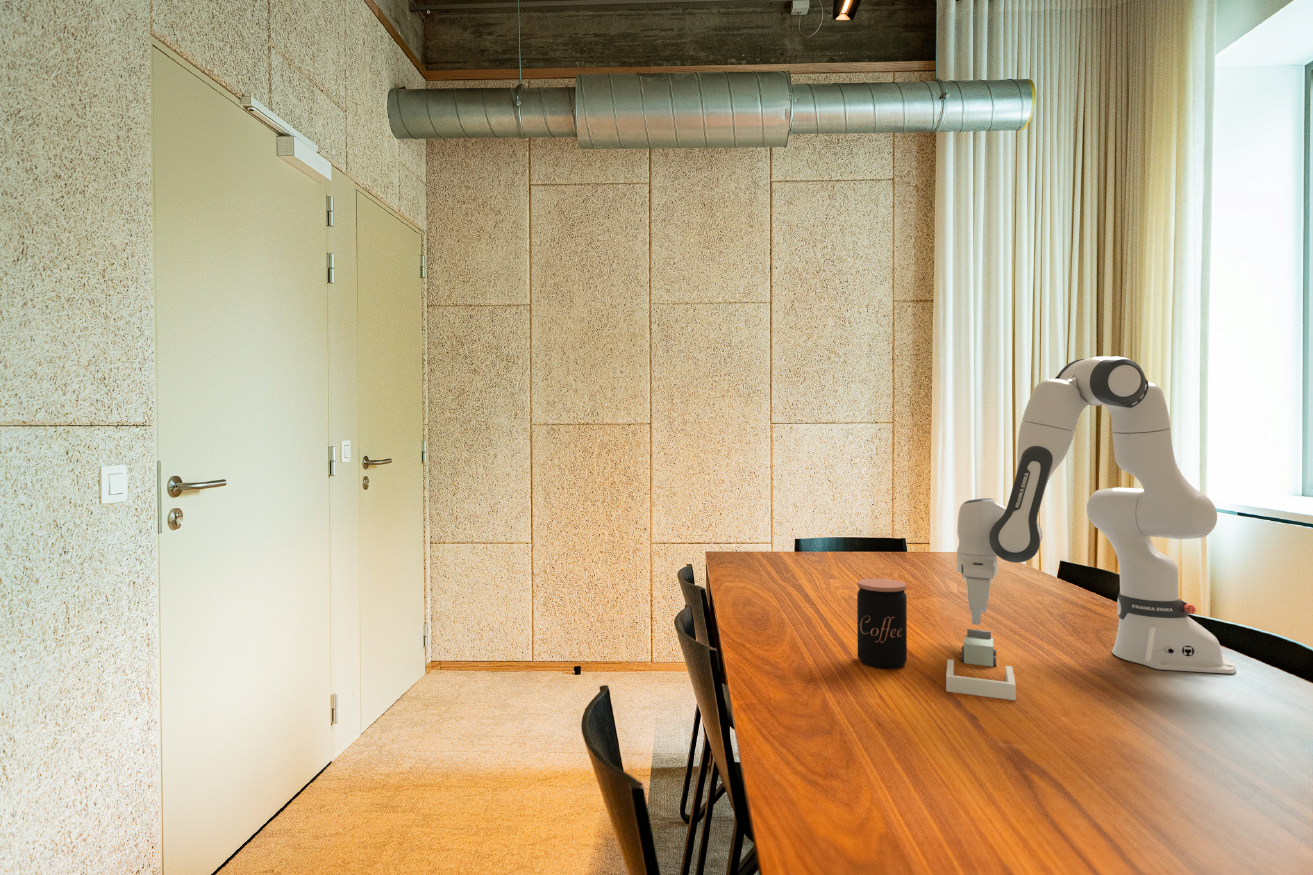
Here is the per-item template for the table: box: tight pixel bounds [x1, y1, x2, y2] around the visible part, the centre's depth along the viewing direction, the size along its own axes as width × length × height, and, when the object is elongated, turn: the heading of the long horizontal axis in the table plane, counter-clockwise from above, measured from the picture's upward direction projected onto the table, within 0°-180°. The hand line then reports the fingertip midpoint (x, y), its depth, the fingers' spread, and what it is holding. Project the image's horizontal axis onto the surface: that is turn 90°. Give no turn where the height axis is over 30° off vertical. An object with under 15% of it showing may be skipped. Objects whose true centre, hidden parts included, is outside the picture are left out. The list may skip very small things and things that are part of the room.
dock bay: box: [945, 658, 1017, 701], centre depth 144 cm, size 12×12×3 cm
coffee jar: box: [856, 578, 908, 670], centre depth 159 cm, size 11×11×18 cm
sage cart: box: [960, 628, 997, 668], centre depth 161 cm, size 7×8×6 cm
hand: (975, 623), depth 169 cm, fingers closed
